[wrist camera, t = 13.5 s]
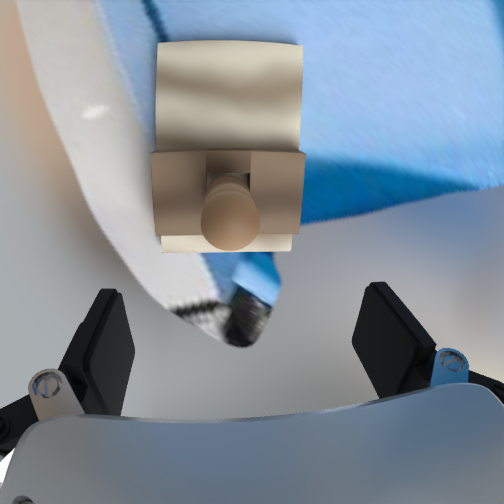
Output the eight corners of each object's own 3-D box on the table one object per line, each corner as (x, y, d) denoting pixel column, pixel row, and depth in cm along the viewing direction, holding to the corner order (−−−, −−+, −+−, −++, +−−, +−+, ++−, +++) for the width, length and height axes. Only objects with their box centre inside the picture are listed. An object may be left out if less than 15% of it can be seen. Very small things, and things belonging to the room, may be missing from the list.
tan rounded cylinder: (206, 168, 29) (199, 195, 19) (247, 168, 29) (261, 195, 20) (206, 207, 31) (201, 251, 21) (246, 207, 31) (258, 250, 22)
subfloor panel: (160, 45, 24) (152, 37, 21) (300, 48, 25) (310, 40, 22) (164, 248, 33) (158, 263, 30) (288, 246, 35) (296, 261, 31)
